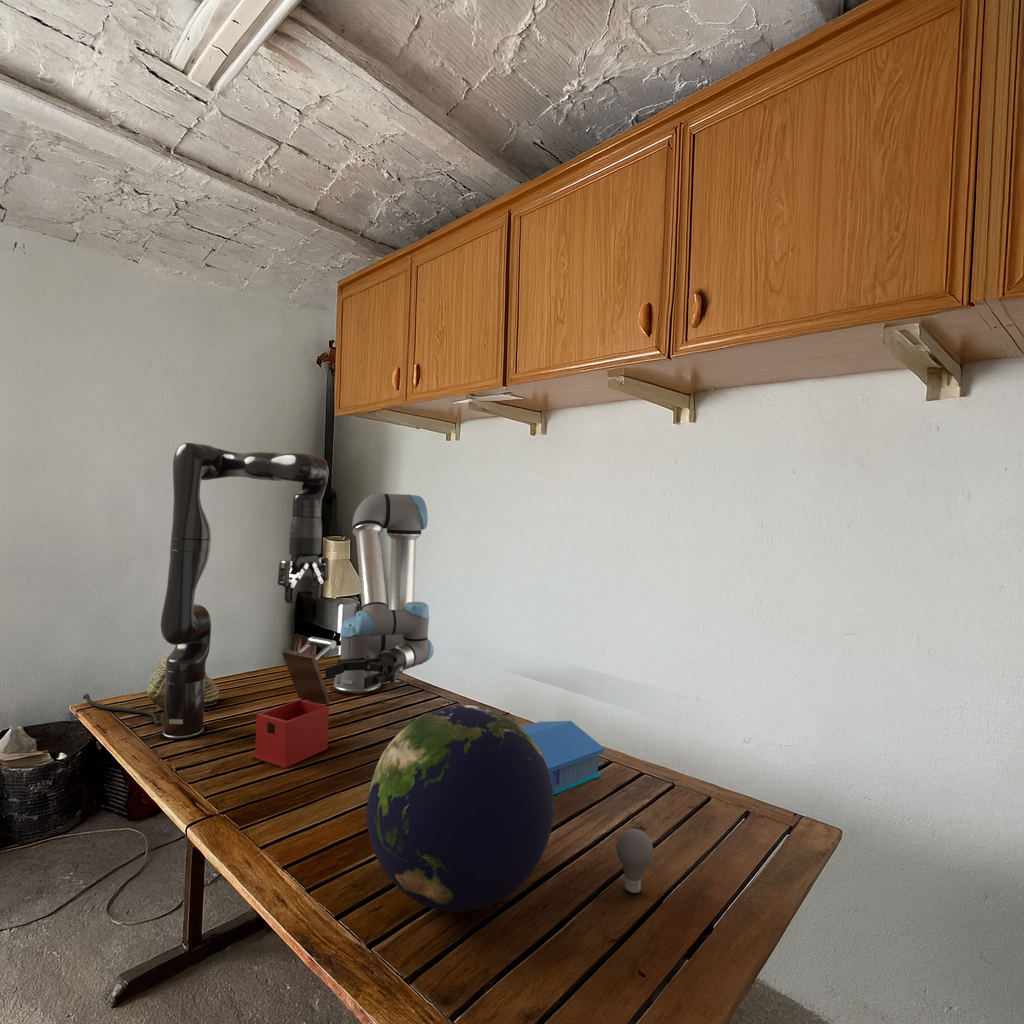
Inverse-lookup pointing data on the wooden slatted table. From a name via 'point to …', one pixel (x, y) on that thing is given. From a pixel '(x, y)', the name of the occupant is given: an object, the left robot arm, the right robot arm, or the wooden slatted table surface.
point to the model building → (566, 753)
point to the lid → (308, 671)
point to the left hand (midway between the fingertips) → (303, 600)
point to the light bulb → (634, 857)
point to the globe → (460, 808)
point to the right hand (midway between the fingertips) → (345, 678)
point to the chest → (291, 732)
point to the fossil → (158, 686)
